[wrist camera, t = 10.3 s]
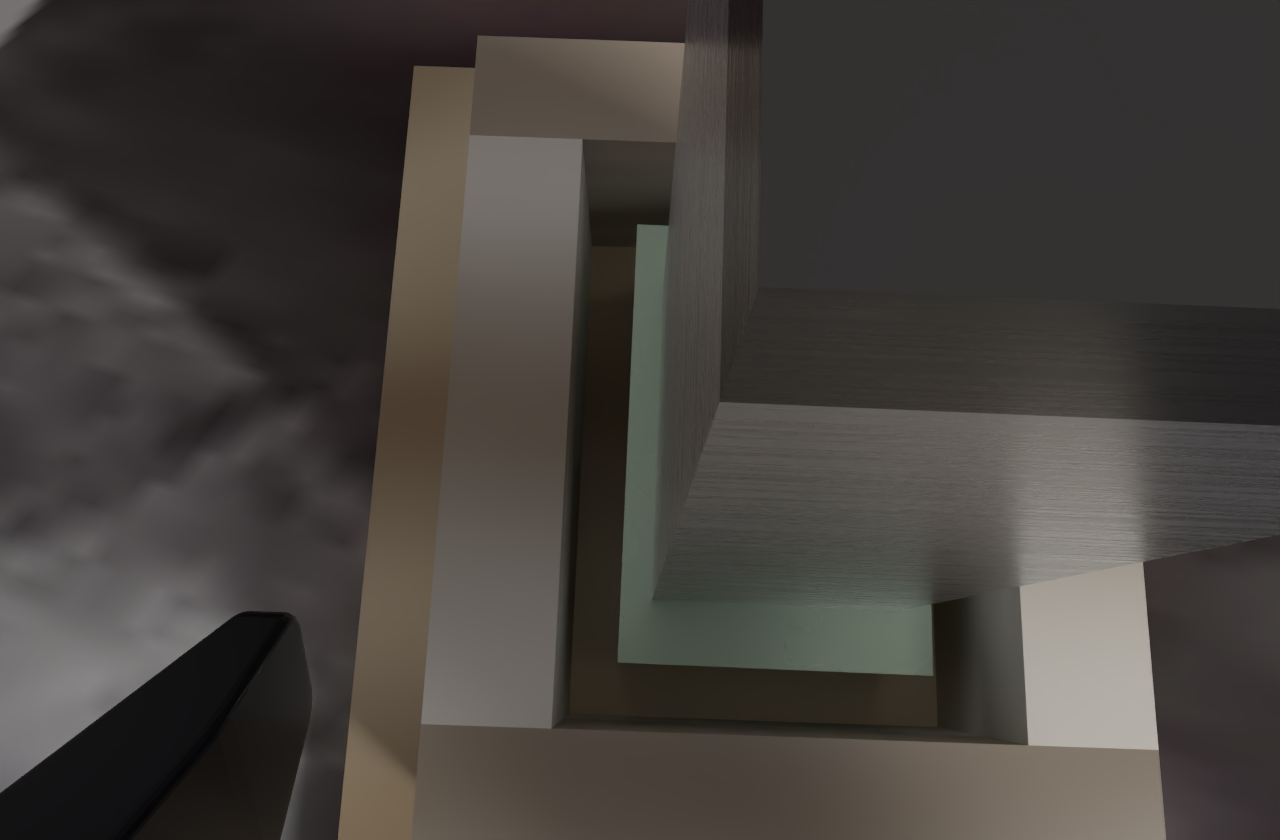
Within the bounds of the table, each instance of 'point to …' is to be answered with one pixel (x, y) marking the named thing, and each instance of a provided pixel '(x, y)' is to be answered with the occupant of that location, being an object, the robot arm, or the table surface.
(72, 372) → the table surface
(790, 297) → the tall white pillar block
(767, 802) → the block holder
